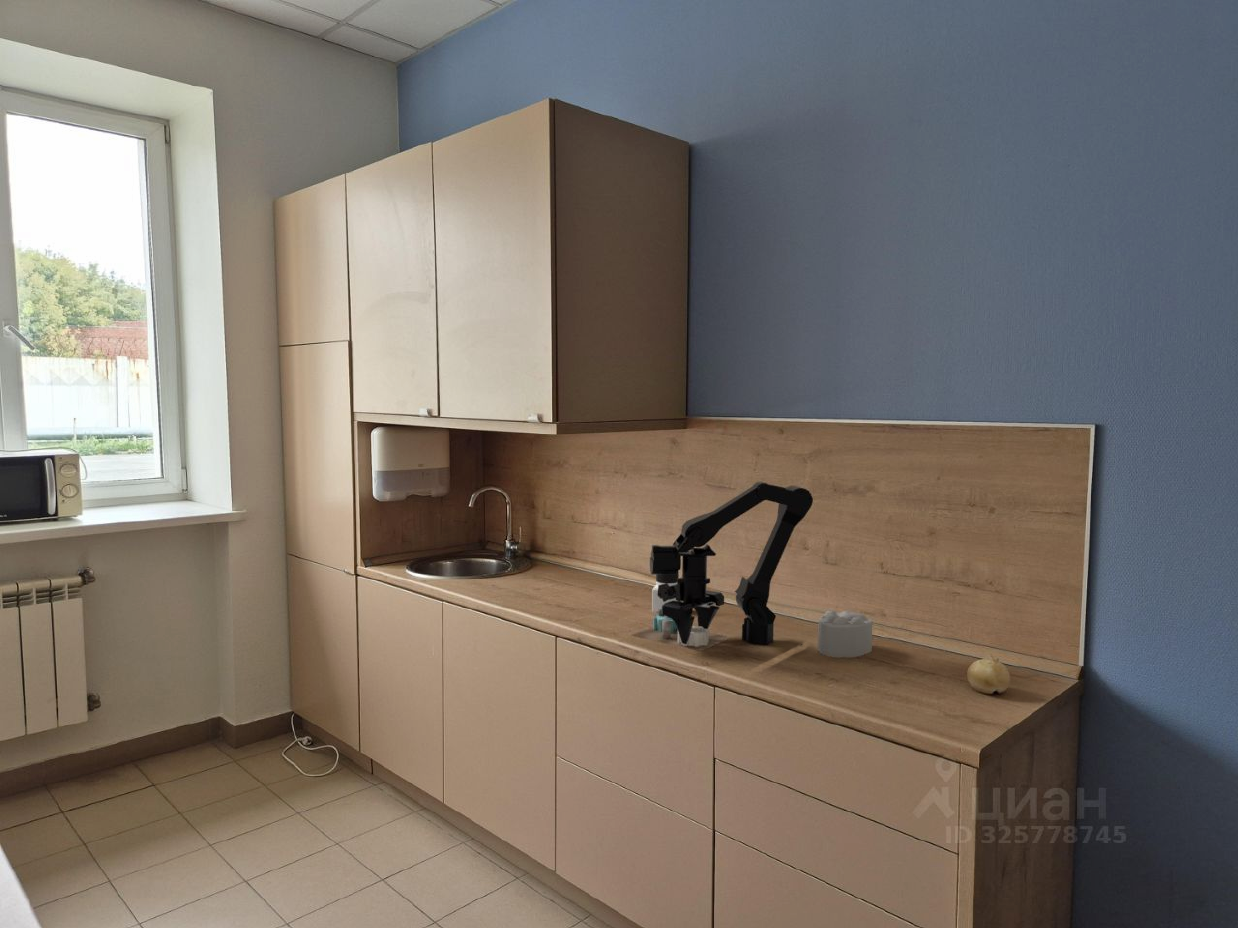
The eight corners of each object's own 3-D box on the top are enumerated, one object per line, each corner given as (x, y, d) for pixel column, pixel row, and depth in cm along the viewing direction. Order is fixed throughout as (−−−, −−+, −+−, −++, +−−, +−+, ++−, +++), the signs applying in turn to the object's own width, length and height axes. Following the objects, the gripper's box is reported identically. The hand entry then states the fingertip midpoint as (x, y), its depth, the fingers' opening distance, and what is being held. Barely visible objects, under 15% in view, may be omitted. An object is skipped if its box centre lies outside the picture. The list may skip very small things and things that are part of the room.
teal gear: (688, 628, 212) (688, 610, 211) (672, 634, 206) (672, 615, 205) (664, 623, 216) (664, 605, 216) (647, 629, 210) (648, 611, 210)
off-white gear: (714, 641, 200) (714, 629, 200) (698, 648, 195) (698, 635, 194) (688, 636, 205) (688, 623, 204) (671, 642, 199) (671, 630, 199)
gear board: (731, 641, 204) (732, 620, 204) (701, 654, 193) (701, 633, 193) (662, 627, 216) (663, 607, 216) (630, 639, 205) (630, 618, 205)
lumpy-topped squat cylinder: (877, 650, 198) (879, 614, 197) (843, 661, 190) (844, 623, 189) (840, 640, 206) (841, 605, 205) (806, 650, 198) (807, 613, 197)
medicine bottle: (678, 616, 227) (678, 572, 226) (651, 615, 228) (652, 571, 227) (681, 610, 234) (682, 567, 233) (655, 608, 235) (656, 565, 234)
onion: (1010, 700, 166) (1011, 664, 165) (966, 694, 169) (967, 659, 169) (1008, 687, 173) (1010, 653, 173) (966, 682, 176) (968, 648, 176)
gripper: (686, 564, 211) (685, 626, 212) (642, 576, 196) (642, 642, 197) (726, 569, 204) (724, 633, 205) (683, 582, 189) (682, 651, 190)
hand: (693, 640), depth 200 cm, fingers closed on off-white gear, 7 cm apart
